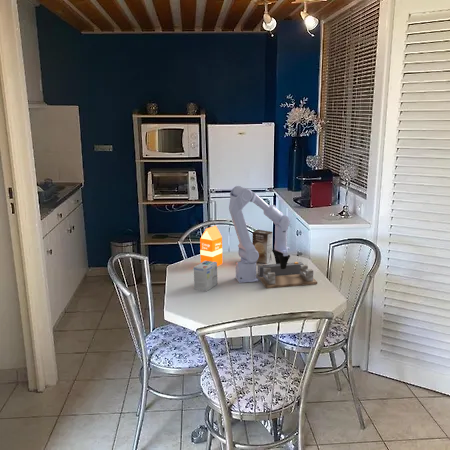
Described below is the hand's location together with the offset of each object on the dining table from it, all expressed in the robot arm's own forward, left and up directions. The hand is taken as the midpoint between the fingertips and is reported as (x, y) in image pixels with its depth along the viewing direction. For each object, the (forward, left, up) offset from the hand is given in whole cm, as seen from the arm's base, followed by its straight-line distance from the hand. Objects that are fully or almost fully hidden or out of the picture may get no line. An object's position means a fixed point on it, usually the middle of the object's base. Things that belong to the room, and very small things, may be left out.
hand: (280, 266), depth 229 cm
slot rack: (0, -11, -4) cm, 12 cm away
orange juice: (-30, +22, -4) cm, 37 cm away
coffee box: (-3, +22, -4) cm, 23 cm away
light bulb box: (-38, -9, -4) cm, 39 cm away
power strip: (0, 0, -4) cm, 4 cm away
